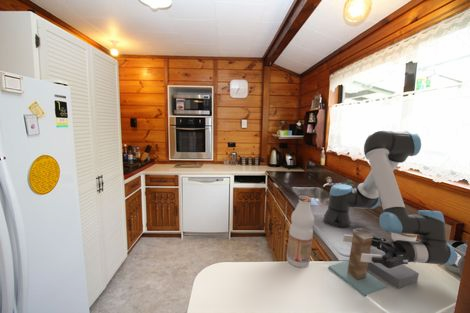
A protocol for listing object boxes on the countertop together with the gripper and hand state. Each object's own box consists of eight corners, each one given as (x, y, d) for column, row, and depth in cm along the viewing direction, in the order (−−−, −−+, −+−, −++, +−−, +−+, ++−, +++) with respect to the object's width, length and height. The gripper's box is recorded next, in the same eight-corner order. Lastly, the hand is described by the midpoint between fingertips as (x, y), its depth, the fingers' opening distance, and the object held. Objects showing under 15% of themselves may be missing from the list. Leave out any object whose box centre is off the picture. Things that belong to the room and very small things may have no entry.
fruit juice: (283, 262, 94) (290, 197, 90) (289, 252, 102) (296, 192, 98) (306, 271, 89) (315, 203, 85) (311, 259, 97) (319, 196, 93)
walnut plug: (346, 272, 88) (353, 229, 86) (355, 270, 90) (361, 227, 88) (357, 280, 84) (364, 235, 81) (366, 278, 86) (373, 233, 83)
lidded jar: (419, 251, 110) (423, 233, 109) (395, 247, 112) (398, 230, 111) (407, 240, 121) (410, 224, 119) (385, 237, 123) (388, 221, 121)
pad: (328, 268, 92) (328, 266, 92) (349, 262, 97) (349, 260, 97) (364, 296, 77) (364, 293, 77) (386, 288, 82) (387, 285, 82)
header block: (354, 261, 98) (355, 252, 97) (372, 256, 103) (373, 248, 102) (397, 290, 82) (399, 280, 81) (416, 282, 87) (418, 273, 86)
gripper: (434, 283, 73) (369, 278, 74) (385, 243, 98) (336, 239, 98) (439, 262, 72) (372, 256, 73) (388, 226, 97) (339, 223, 97)
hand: (351, 246), depth 85 cm, fingers open, 13 cm apart
